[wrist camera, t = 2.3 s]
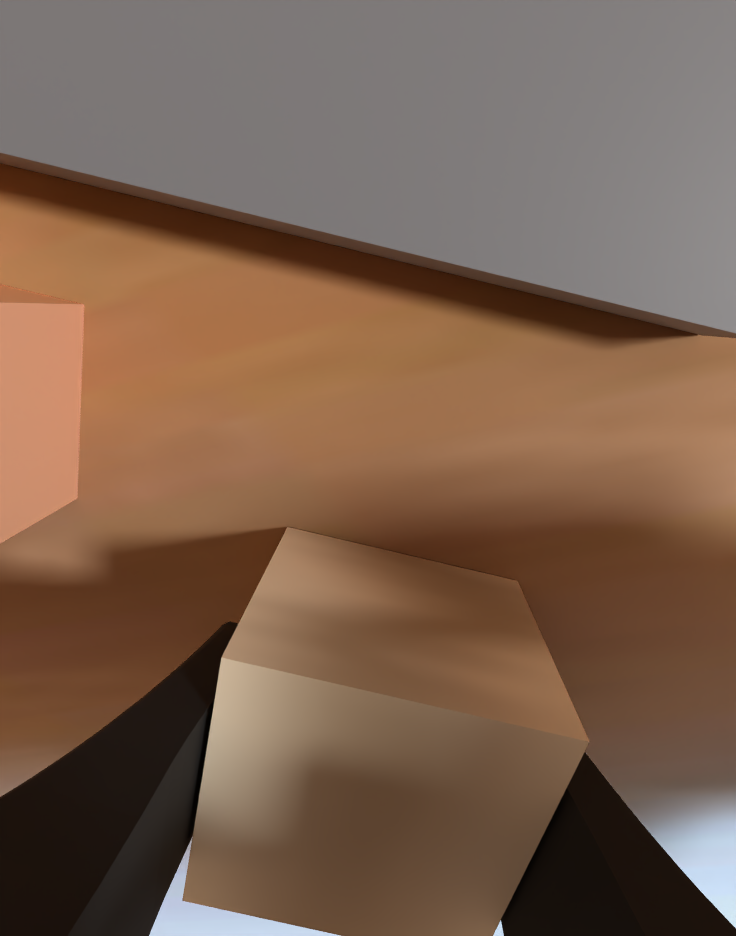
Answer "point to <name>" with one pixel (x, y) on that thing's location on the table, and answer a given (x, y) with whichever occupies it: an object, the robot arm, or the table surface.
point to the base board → (411, 131)
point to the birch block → (379, 746)
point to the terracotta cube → (38, 406)
